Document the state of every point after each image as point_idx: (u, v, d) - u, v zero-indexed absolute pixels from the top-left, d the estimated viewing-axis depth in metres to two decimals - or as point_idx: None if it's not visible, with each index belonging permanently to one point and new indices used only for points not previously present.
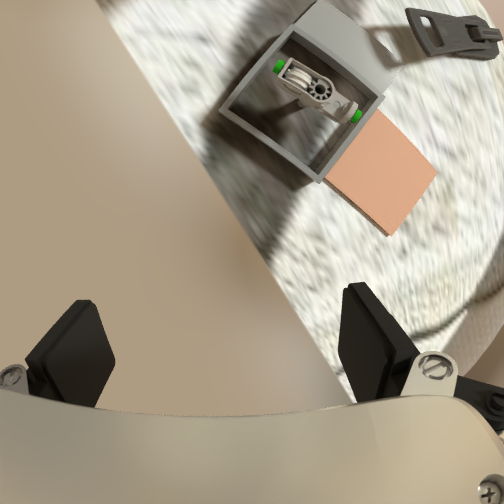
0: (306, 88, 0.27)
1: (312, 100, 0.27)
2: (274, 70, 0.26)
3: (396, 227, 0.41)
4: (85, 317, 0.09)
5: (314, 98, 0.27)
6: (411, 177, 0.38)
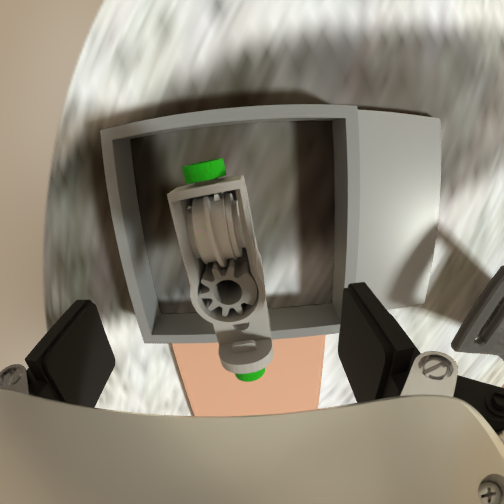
0: (209, 261, 0.12)
1: None
2: (183, 171, 0.10)
3: None
4: (85, 317, 0.09)
5: (195, 299, 0.12)
6: (278, 408, 0.27)
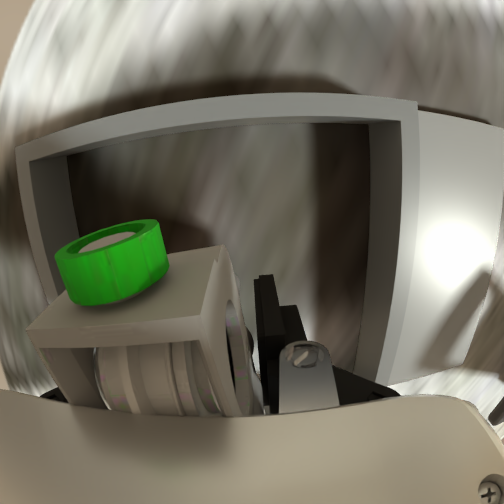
0: None
1: None
2: None
3: None
4: None
5: None
6: None
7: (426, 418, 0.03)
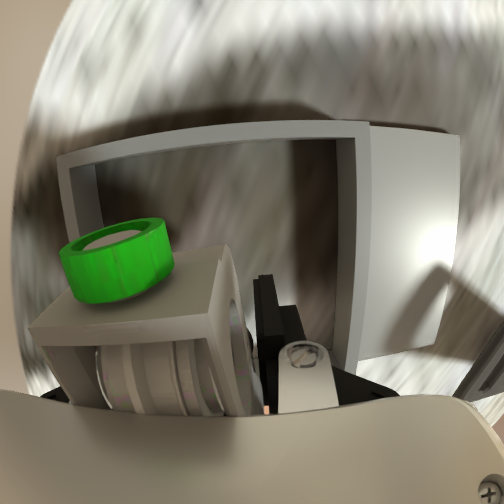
0: None
1: None
2: None
3: None
4: None
5: None
6: None
7: (426, 418, 0.03)
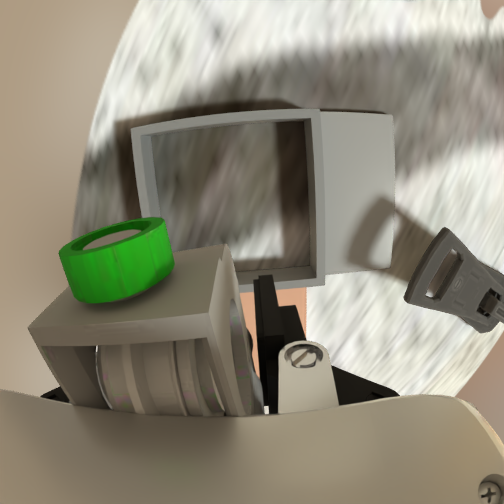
0: None
1: None
2: None
3: None
4: None
5: None
6: None
7: (426, 418, 0.03)
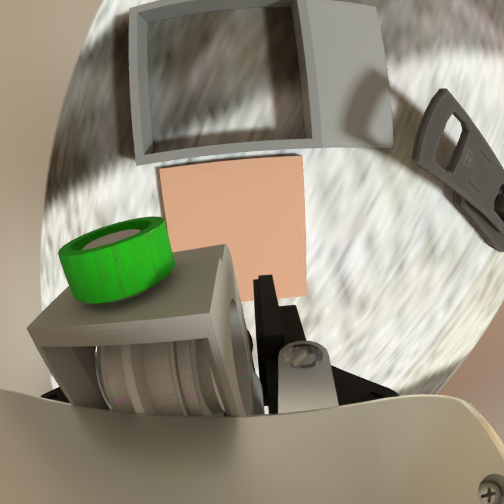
0: None
1: None
2: None
3: None
4: None
5: None
6: (264, 269, 0.29)
7: (426, 418, 0.03)
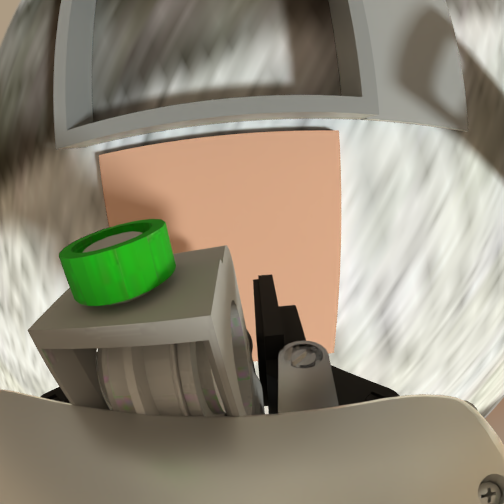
0: None
1: None
2: None
3: None
4: None
5: None
6: None
7: (426, 418, 0.03)
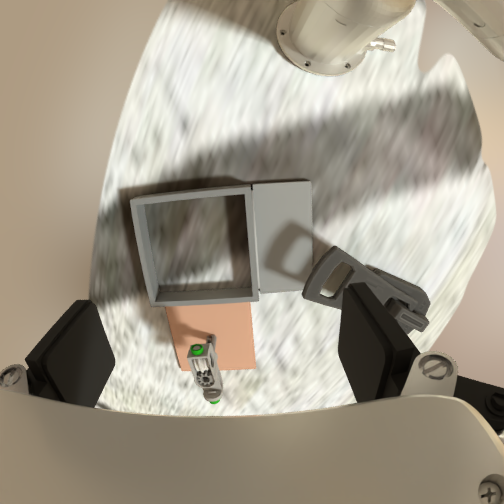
0: (199, 370, 0.37)
1: None
2: (191, 350, 0.35)
3: (189, 369, 0.48)
4: (85, 317, 0.09)
5: (195, 381, 0.36)
6: (229, 355, 0.47)
7: (426, 418, 0.03)
